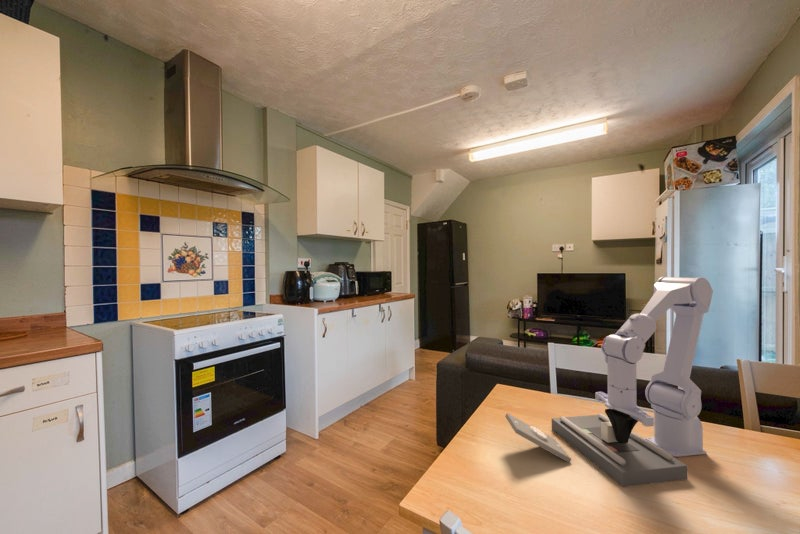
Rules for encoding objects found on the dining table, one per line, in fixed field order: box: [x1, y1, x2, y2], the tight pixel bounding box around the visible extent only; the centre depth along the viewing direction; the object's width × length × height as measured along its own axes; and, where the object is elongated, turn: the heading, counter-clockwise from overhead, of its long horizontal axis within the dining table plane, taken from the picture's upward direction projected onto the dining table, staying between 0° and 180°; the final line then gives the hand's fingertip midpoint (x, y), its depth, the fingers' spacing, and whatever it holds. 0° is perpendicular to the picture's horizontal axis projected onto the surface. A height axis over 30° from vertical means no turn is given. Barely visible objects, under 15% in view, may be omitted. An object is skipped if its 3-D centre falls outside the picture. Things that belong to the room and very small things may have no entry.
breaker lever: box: [601, 422, 618, 443], centre depth 78 cm, size 5×2×4 cm, turn 98°
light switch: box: [505, 413, 572, 463], centre depth 78 cm, size 8×6×14 cm
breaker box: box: [551, 414, 689, 488], centre depth 79 cm, size 16×24×3 cm, turn 8°
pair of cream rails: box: [559, 412, 674, 466], centre depth 79 cm, size 13×21×1 cm, turn 8°
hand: (622, 441), depth 75 cm, fingers closed
